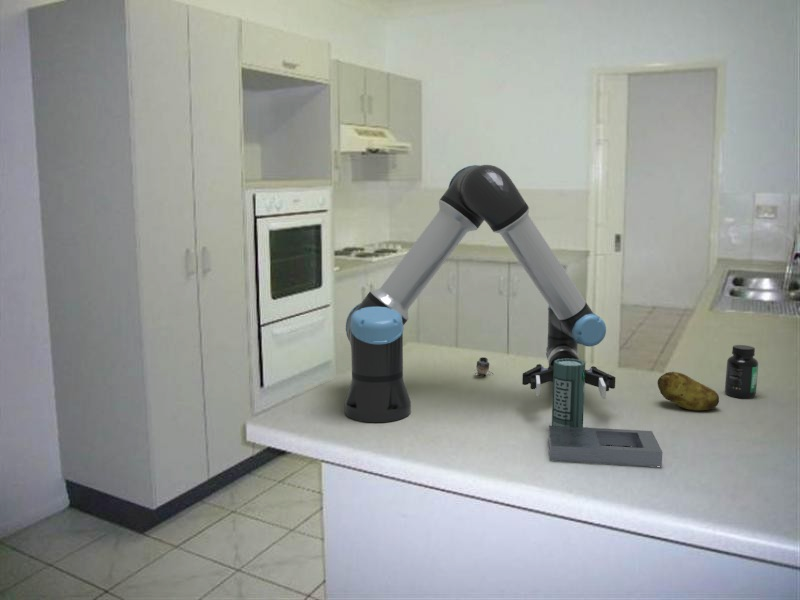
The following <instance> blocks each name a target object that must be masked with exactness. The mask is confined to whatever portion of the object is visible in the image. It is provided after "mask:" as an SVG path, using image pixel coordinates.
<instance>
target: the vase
mask: <svg viewBox="0 0 800 600" xmlns="http://www.w3.org/2000/svg"><path fill="white" fill-rule="evenodd" d="M474 365H475V364H474ZM493 367H494V366H493ZM493 367H492V368H493ZM489 370H490V362H489V359H488V358H487V357H479V359H478V360H477V361H476V369H475V370H474V371H476V372H474V374H477V375H481V376H480V377H485V376H484V375H487V376H489V375H490V376H491V375H494V372H492V371H489ZM477 375H476V376H477Z"/></svg>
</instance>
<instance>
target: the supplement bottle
mask: <svg viewBox="0 0 800 600" xmlns="http://www.w3.org/2000/svg"><path fill="white" fill-rule="evenodd" d="M755 351H756V348H755V347H753V346H750V345H746V344H737V345H736V344H734V345H733V346H732V351H731V354H732V355H731V356H729V357H728V358H727V360H726V371H725V372H726V373H725V382H724V383H725V384H724V393H725V394H726V395H727V396H729V397H731V398H736V399H743V400H749V399H750V400H751V399H753V398H755V397H756V394H757V386H758V385H757V384H758V375H759V374H758V372H759V371H758V370H759V362H758V360H757V359H756V358H755V355H756V353H755Z"/></svg>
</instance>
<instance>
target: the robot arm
mask: <svg viewBox="0 0 800 600" xmlns="http://www.w3.org/2000/svg"><path fill="white" fill-rule="evenodd" d="M512 180H513V179H511V177H510V176H509V175H508V174H507V173H506V172H505V171H504V170H503V169H501V168H500V167H498V166H495V165H492V164H481V165H479V164H478V165H477V164H473V165H469V166H464V167H463V168H461V169H459V171H457V172H456V173H455V174H454V175H453V177H452V178H451V180H450V181H449V185H448V188H447V190H445V192H444V193H443V195H442V196H441V198H440V199H439V200H438V206H439V210H438V212H437V213H436V214H435V216H433V218H432V219H431V221H430V222H429V223H428V225H427V226H426V227H425V228H424V230H423V231H422V232H421V234H420V236H419V237H418V238H417V239H416V241H414V243H413V244H412V246H411V247H410V248H409V250H408V251H407V253H406V254H405V255H404V256H403V258H402V259H401V260H400V262H399V263H398V264H397V265H396V267H395V268H394V270H392V272H391V274H390V275H389V276H388V277H387V279H386V280H385V281H384V282H383V284H382V285H381V286H380V287H379V288H377V289H376V288H375V289H371V290H370V291H369V292H368V293H367V294H366V296H365V297H364V299H363V300H362V301H361V302H360V303H359V304H357V305H355V306H354V307H353V308H352V309H351V310H350V312H349V314H347V315H348V316H347V317H346V321H345V332H346V333H345V334H346V336H347V339H348V341H349V343H350V344H349V345H350V350H351V380H350V381H351V382H350V385H349V388H348V391H347V395H346V397H345V398H346V399H345V402H344V414H345V415H346V416H347V417H348V418H350V419H352V420H355V421H358V422H364V423H388V422H394V421H399V420H401V419H404V418H406V417H408V416H409V415H410V414H411V412H412V404H411V403H412V402H411V399H410V396H409V393H408V390H407V387H406V384H405V381H404V356H403V355H404V354H403V353H404V351H403V349H404V348H403V347H404V345H403V344H404V343H403V342H404V341H403V339H404V337H403V334H404V333H403V332H404V326H405V324H406V323H407V321H408V320H409V313H408V312H409V310H410V308H411V306H412V305H413V304H414V302H415V301H416V299H418V297H419V296H420V294H421V293H422V292H423V290H424V289H425V288H426V286H428V284H429V282H430V281H431V280H432V279H433V278H434V276H435V275H436V274H437V273H438V271H439V270H440V268H441V267H442V266H443V265H444V263H445V261H446V260H447V259H448V258H449V257H450V255H451V254H452V252H453V251H454V250H455V249H456V247H457V246H458V245H459V244H460V242H461V241H463V239H464V238H465V236H466V234H467V233H468V232H473V231H477V230H478V229H479V228H480V227H481V225H482V224H483V223H484V222H486V223H487V225H488V226H489V228H490V230H492V232H493V233H495V234H496V233H497V234H499V235H501V237H502V239H503V240H504V242H505V243H506V244H507V246H508V247H509V248H510V251H511V252H512V253H513V255H514V257H515V258H516V259H517V261H518V262H519V263H520V265H521V266H522V268H523V270H524V271H525V273H526V274H527V275H528V277H529V278H530V280H531V281H532V283H533V284H534V285H535V287H536V288H537V289H538V291H539V293H540V294H541V296H542V298H543V299H544V300H545V302H547V305H548V306H547V311H548V314H547V316H548V317H547V319H548V320H547V321H548V322H547V344H546V345H547V347H546V350H545V351H546V352H545V354H546V358H547V363H548V367H544V366H543V365H542V364H540V363H539V364H536V365H535V367H533V368H531V369H529V370H527V371H525V372H523V373H522V379H521V380H522V381H521V382H522V384H521V385H525V386H526V385H527V386H528V385H530V387H529V389H531V390H535V394H536V395H535V396H536V397H537V396H539V397H540V396H541V385H542V384H546V383H550V382H552V383H553V372H554V361H555V360H557V359H565V358H566V359H568V358H569V359H577V360H580V358H579V353H578V348H579V347H578V345H582V346H584V347H594V346H598V345H599V344H600V343H601V342H602V341H604V339H605V337H606V335H607V326H606V323H605V322H604V320H603V319H602V318H601V317H600V316H598V314H596V313H594V312H593V310H592V309H591V307H590V306H589V304H588V303H587V302H586V300H585V299H584V297H583V295H582V293H580V291H579V289H578V288H577V286H576V285H575V283H574V282H573V280H572V279H571V278H570V276H569V274H568V273H567V271H566V270H565V268H564V267H563V265H562V264H561V262H560V260H559V259H558V258H557V256H556V255H555V253H554V251H553V250H552V248H551V247H550V246H549V244H548V243H547V241H546V239H545V238H544V236H543V235H542V233H541V232H540V230H539V229H538V227H537V226H536V224H535V223H534V220H532V218H531V217H530V215H529V212H530V207H529V205H528V204H527V202H526V200H524V198H523V196H522V194H521V193H520V191H519V189H518V188H517V186H516V185H515V183H514V182H513V181H512ZM585 384H588V385H591V386H593V387H595V388H598V392H599V394H600V397H601V399H602V400H603V399H606V398H607V397H606V396H607V394H606V392H609V391H610V389H613V390H614V389H616V377H615V376H614V375H611V374H609V373H607V372H605V371H603V370H601V369H598V368H597V367H596V366H594V365H593V366H590V368H589V369H586V368H585Z"/></svg>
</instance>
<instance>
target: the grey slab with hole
mask: <svg viewBox="0 0 800 600" xmlns="http://www.w3.org/2000/svg"><path fill="white" fill-rule="evenodd" d="M606 445H610V446H606ZM611 445H612V446H611ZM623 446H630V447H623ZM631 446H632V447H631ZM548 447H549V459H550V461H551V462H562V461H566V462H565V463H579V464H581V463H583V464H595V463H597V465H611V464H613V465H615V466H628V465H631V466H632V467H644V466H656V467H655V468H658V467H657V466H660V467H663V463H662V462H663V454H664V453H663V450H662V448H661V446H660V444H659V442H658V439H656V436H655V434H654V432H653V431H652V430H644V429H642V430H641V429H640V430H639V429H638V430H637V429H622V428H621V429H620V428H619V429H618V428H603V427H602V428H601V427H587V426H586V427H584V426H583V427H567V426H552V425H548ZM631 466H630V467H631ZM660 467H659V468H660Z"/></svg>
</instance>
